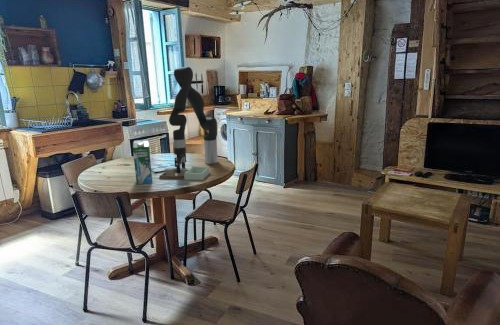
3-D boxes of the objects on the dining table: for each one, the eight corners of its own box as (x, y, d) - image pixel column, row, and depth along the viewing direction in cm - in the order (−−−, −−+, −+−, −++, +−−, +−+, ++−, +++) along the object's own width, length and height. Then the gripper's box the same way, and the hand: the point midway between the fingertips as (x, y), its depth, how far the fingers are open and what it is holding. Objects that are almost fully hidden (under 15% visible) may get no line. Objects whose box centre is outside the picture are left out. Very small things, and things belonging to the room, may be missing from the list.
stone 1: (168, 174, 228) (167, 167, 226) (174, 174, 227) (174, 167, 226) (165, 176, 223) (165, 169, 222) (172, 176, 222) (171, 169, 221)
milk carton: (136, 185, 208) (132, 143, 202) (137, 181, 217) (133, 141, 211) (152, 183, 210) (148, 142, 204) (152, 179, 219) (148, 140, 213)
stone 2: (180, 174, 226) (179, 167, 225) (186, 174, 226) (186, 168, 224) (177, 176, 222) (177, 169, 221) (184, 176, 221) (183, 169, 220)
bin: (192, 173, 230) (192, 166, 229) (209, 173, 229) (209, 167, 227) (184, 180, 215) (183, 173, 214) (202, 180, 213) (202, 173, 212)
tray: (169, 172, 233) (168, 169, 233) (192, 173, 231) (191, 169, 230) (159, 179, 218) (159, 175, 218) (184, 180, 216) (183, 176, 215)
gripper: (178, 144, 227) (179, 168, 230) (169, 148, 213) (171, 174, 217) (189, 144, 225) (190, 168, 229) (181, 148, 212) (183, 174, 215)
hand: (181, 171), depth 223 cm, fingers open, 8 cm apart
